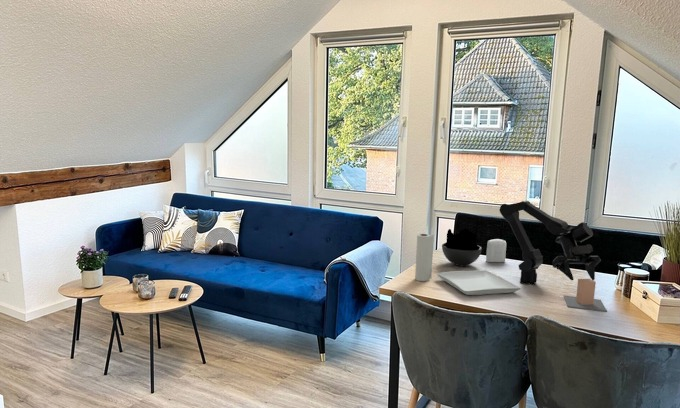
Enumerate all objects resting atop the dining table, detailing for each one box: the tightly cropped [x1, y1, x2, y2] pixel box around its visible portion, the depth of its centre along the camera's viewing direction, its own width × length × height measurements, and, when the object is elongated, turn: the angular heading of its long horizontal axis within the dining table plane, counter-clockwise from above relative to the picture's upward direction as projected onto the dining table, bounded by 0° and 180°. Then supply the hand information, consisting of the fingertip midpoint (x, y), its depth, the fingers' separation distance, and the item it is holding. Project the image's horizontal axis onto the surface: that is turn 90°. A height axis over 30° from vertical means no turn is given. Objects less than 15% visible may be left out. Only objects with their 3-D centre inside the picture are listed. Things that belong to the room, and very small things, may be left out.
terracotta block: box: [575, 278, 597, 305], centre depth 196 cm, size 5×4×10 cm
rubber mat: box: [563, 294, 608, 313], centre depth 197 cm, size 14×14×1 cm
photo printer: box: [485, 238, 507, 263], centre depth 259 cm, size 10×4×12 cm, turn 98°
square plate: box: [435, 269, 522, 296], centre depth 216 cm, size 27×27×4 cm
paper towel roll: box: [414, 233, 435, 282], centre depth 222 cm, size 7×6×21 cm
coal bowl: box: [441, 228, 483, 267], centre depth 250 cm, size 20×20×19 cm
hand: (583, 279), depth 198 cm, fingers open, 9 cm apart
